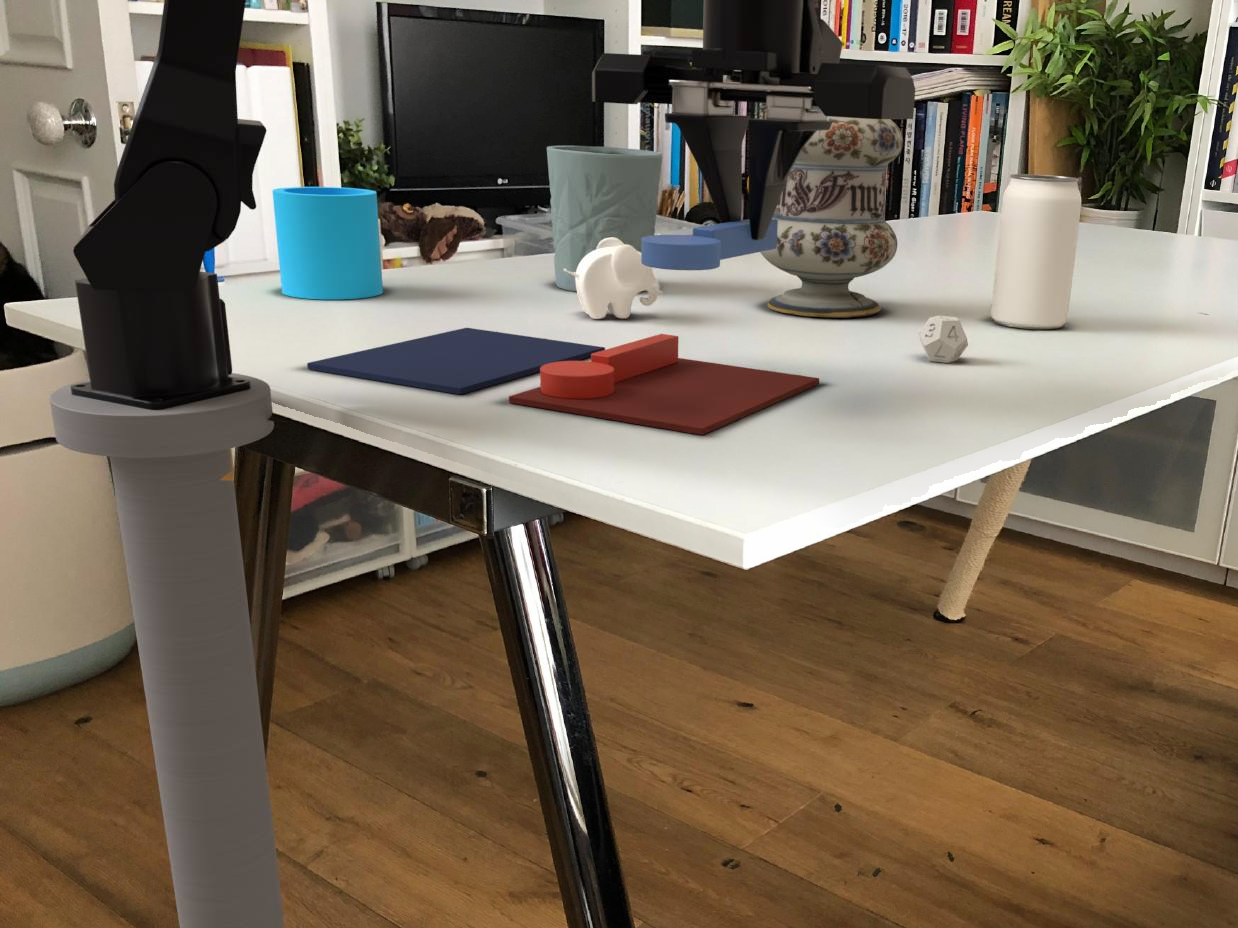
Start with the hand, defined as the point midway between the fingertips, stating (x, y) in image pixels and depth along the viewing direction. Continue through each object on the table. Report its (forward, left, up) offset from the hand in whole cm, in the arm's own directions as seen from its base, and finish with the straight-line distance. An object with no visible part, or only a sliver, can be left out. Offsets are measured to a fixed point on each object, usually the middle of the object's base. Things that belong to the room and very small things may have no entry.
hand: (745, 238), depth 80 cm
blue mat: (-3, +19, -9) cm, 21 cm away
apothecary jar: (+33, +8, -10) cm, 35 cm away
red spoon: (-3, +7, -9) cm, 12 cm away
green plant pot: (+31, +29, -10) cm, 43 cm away
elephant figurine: (+18, +20, -10) cm, 29 cm away
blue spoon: (-3, 0, -1) cm, 4 cm away
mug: (+14, +46, -10) cm, 49 cm away
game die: (+18, -8, -10) cm, 21 cm away
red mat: (-3, +3, -9) cm, 10 cm away
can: (+38, -9, -10) cm, 40 cm away
